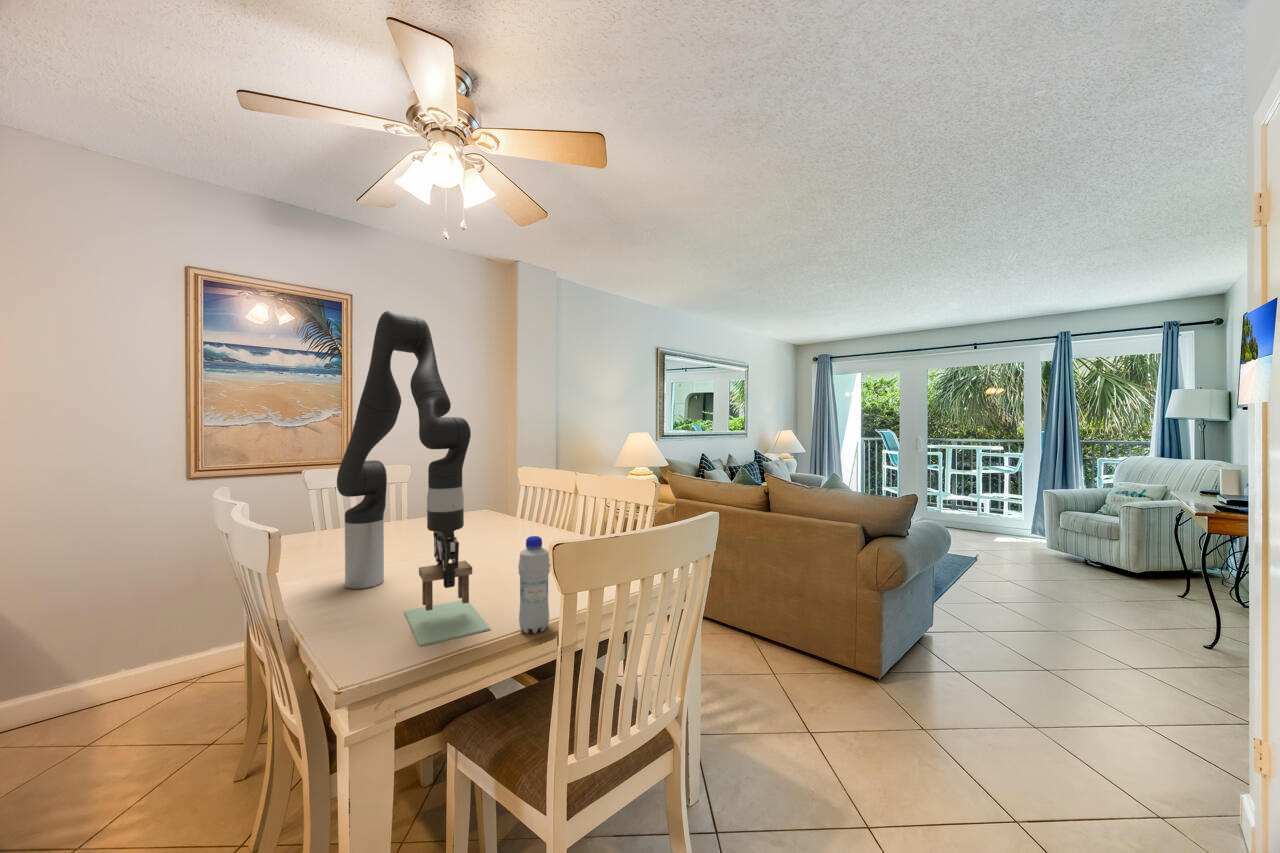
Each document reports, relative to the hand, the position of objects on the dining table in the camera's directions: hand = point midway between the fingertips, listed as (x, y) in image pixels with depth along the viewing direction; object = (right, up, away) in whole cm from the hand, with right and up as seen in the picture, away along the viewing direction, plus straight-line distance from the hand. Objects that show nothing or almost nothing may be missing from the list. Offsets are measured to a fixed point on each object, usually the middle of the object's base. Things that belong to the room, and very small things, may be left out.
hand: (445, 582), depth 110 cm
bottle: (+20, -9, -4) cm, 23 cm away
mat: (0, -9, 0) cm, 9 cm away
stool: (0, -5, 0) cm, 5 cm away
